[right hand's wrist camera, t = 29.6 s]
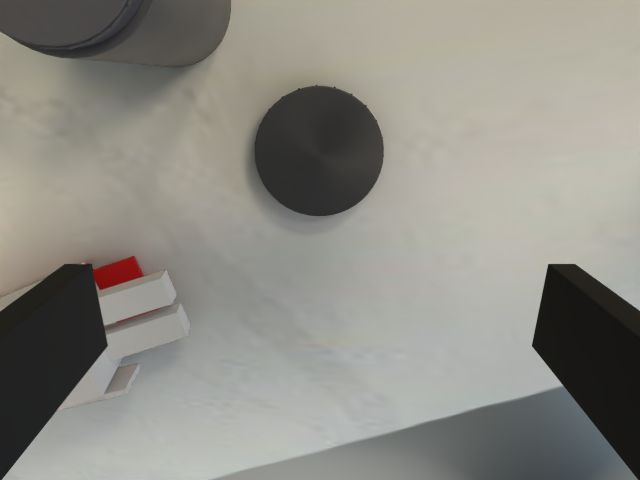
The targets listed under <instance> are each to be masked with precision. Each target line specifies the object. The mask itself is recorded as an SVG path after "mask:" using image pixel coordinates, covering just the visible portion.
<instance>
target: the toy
mask: <svg viewBox="0 0 640 480" xmlns="http://www.w3.org/2000/svg"><path fill="white" fill-rule="evenodd" d="M80 264H85V262H82V263H80ZM93 274H94V278H95V283H96V288H97V293H98V298H99V303H100V308H101V313H102V318H103V323H104V328H105V333H106V338H107V343H108V347H107V348H106V349H105V350H104V352H103V353H102V354H101V355H100V357H99V358H98V359H97V360H96V362H95V363H94V364H93V365H92V367H91V368H90V369H89V370H88V372H87V373H86V374H85V375H84V377H83V378H82V379H81V380H80V382H79V383H78V384H77V386H76V387H75V388H74V389H73V391H72V392H71V393H70V394H69V396H68V397H67V398H66V399H65V401H64V402H63V403H62V404H61V406H60V407H59V408H58V409H57V411H59V410H62V409H67V408H71V407H75V406H79V405H84V404H88V403H92V402H96V401H101V400H105V399H109V398H113V397H117V396H122V395H126V394H127V393H128V391H129V389H130V387H131V385H132V383H133V381H134V379H135V377H136V375H137V373H138V371H139V369H140V365H139V363H137V364H133V365H128V366H124V367H120V368H118V366H119V364H120V362H121V360H122V358H123V357H126V356H129V355H132V354H135V353H138V352H141V351H144V350H147V349H150V348H154V347H157V346H160V345H163V344H166V343H169V342H172V341H175V340H178V339H181V338H185V337H187V336H188V333H189V330H190V327H191V325H190V322H189V320H188V318H187V316H186V313H185V311H184V309H183V307H182V304H181V302H180V303H177V304H174V305H171V306H168V307H165V308H162V309H160V308H161V307H164V306H167V305H170V304H173V302H174V299H175V297H176V295H177V293H176V291H175V289H174V287H173V284H172V282H171V280H170V278H169V275H168V273H167V271H166V270H163V271H160V272H156V273H153V274H150V275H147V276H144V275H143V273H142V271H141V269H140V267H139V265H138V263H137V261H136V259H135V257H134V256H133V257H130V258H127V259H124V260H121V261H118V262H115V263H113V264H110V265H107V266H104V267H101V268H98V269H95V270H93ZM42 280H44V279H42ZM42 280H40V281H38V282H35V283H33V284H31V285H29V286H26V287H24V288H22V289H19V290H17V291H15V292H12V293H10V294H8V295H5V296H3V297H1V298H0V311H1V310H2V309H4V308H5V307H7V306H8V305H9V304H11V303H12V302H13V301H15V300H16V299H18V298H19V297H20V296H22V295H23V294H24V293H26V292H27V291H29V290H30V289H31V288H33V287H34V286H36V285H37V284H38V283H40V282H41V281H42Z"/></svg>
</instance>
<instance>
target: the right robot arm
mask: <svg viewBox="0 0 640 480" xmlns="http://www.w3.org/2000/svg"><path fill="white" fill-rule="evenodd" d="M107 347H108V343H107V338H106V333H105V328H104V323H103V318H102V313H101V308H100V303H99V298H98V293H97V288H96V283H95V278H94V274H93V269H92V264H64V265H63V266H62V267H60V268H59V269H58V270H56V271H55V272H53V273H52V274H51V275H49V276H48V277H47V278H45V279H44V280H42V281H41V282H40V283H38V284H37V285H36V286H34V287H33V288H31V289H30V290H29V291H27V292H26V293H24V294H23V295H22V296H20V297H19V298H18V299H16V300H15V301H13V302H12V303H11V304H9V305H8V306H7V307H5V308H4V309H2V310H1V311H0V480H2V479H3V477H4V476H5V475H6V474H7V472H8V471H9V470H10V469H11V467H12V466H13V465H14V464H15V462H16V461H17V460H18V459H19V457H20V456H21V455H22V453H23V452H24V451H25V450H26V448H27V447H28V446H29V445H30V443H31V442H32V441H33V440H34V438H35V437H36V436H37V435H38V433H39V432H40V431H41V430H42V428H43V427H44V426H45V425H46V423H47V422H48V421H49V420H50V418H51V417H52V416H53V414H54V413H55V412H56V411H57V409H58V408H59V407H60V406H61V404H62V403H63V402H64V401H65V399H66V398H67V397H68V396H69V394H70V393H71V392H72V391H73V389H74V388H75V387H76V386H77V384H78V383H79V382H80V380H81V379H82V378H83V377H84V375H85V374H86V373H87V372H88V370H89V369H90V368H91V367H92V365H93V364H94V363H95V362H96V360H97V359H98V358H99V357H100V355H101V354H102V353H103V352H104V350H105V349H106V348H107ZM532 347H533V348H534V349H535V350H536V352H537V353H538V354H539V355H540V357H541V358H542V359H543V360H544V362H545V363H546V364H547V365H548V367H549V368H550V369H551V370H552V372H553V373H554V374H555V375H556V377H557V378H558V379H559V380H560V382H561V383H562V384H563V386H564V387H565V388H566V389H567V391H568V392H569V393H570V394H571V396H572V397H573V398H574V399H575V401H576V402H577V403H578V404H579V406H580V407H581V408H582V409H583V411H584V412H585V413H586V414H587V416H588V417H589V418H590V419H591V421H592V422H593V423H594V424H595V426H596V427H597V428H598V430H599V431H600V432H601V433H602V435H603V436H604V437H605V438H606V440H607V441H608V442H609V443H610V445H611V446H612V447H613V448H614V450H615V451H616V452H617V453H618V455H619V456H620V457H621V459H622V460H623V461H624V462H625V464H626V465H627V466H628V467H629V469H630V470H631V471H632V472H633V474H634V475H635V476H636V477H637V479H638V480H640V311H639V310H638V309H636V308H635V307H633V306H632V305H631V304H629V303H628V302H627V301H625V300H624V299H622V298H621V297H620V296H618V295H617V294H616V293H614V292H613V291H611V290H610V289H609V288H607V287H606V286H604V285H603V284H602V283H600V282H599V281H598V280H596V279H595V278H593V277H592V276H591V275H589V274H588V273H587V272H585V271H584V270H582V269H581V268H580V267H578V266H577V265H576V264H548V269H547V273H546V278H545V283H544V288H543V293H542V298H541V303H540V308H539V313H538V318H537V323H536V328H535V333H534V338H533V343H532Z"/></svg>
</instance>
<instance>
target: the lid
mask: <svg viewBox="0 0 640 480" xmlns="http://www.w3.org/2000/svg"><path fill="white" fill-rule="evenodd" d="M352 95H353V94H349V93H347V92H345V91H342V90H340V89H336V87H334V88H332V87H326V86H317V85H316V86H312V87H306V88H302V89H300V88H299V89H298V90H296V91H294V92H292V93H290V94H288V95H286V96H285V97H284V96H283V97H282V99H280V100H279V101H278V102H277V103H276V104H275V105H273V107H272V108H270V109H269V111H268V113H267V114H266V116H265V117H264V119H263V121H262V123H261V124H260V127H259V130H258V133H257V137H256V142H255V161H256V165H257V169H258V172H259V175H260V178H261V180H262V182H263V183H264V185H265V187H266V188H267V190H268V191H269V192H270V193H271V194H272V196H273V197H274V198H275V199H277V200H278V201H279V202H280V203H281V204H283V205H284V206H286V207H287V208H289V209H291V210H293V211H296V212H299V213H302V214H306V215H312V216H327V215H333V214H337V213H340V212H343V211H345V210H347V209H349V208H351V207H353V206H354V205H356V204H357V203H358V202H360V201H361V200H362V199H363V198H364V197H365V196H366V195H367V194H368V193H369V192H370V190H371V189H372V188H373V186H374V184H375V183H376V181H377V179H378V176H379V174H380V171H381V167H382V163H383V156H384V155H383V153H384V147H383V137H382V135H381V131H380V129H379V126H378V124H377V120H376V119H375V118H374V116H373V115H372V113H371V112H370V111H369V109H368V108H367V106H366V105H364V104H363V103H362V102H361V101H359V100H358V99H357V98H355V97H354V96H352Z"/></svg>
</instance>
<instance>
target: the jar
mask: <svg viewBox="0 0 640 480" xmlns="http://www.w3.org/2000/svg"><path fill="white" fill-rule="evenodd" d="M230 12H231V0H0V32H2V33H4V34H6V35H7V36H9V37H10V38H12V39H14V40H15V41H17V42H18V43H20V44H22V45H24V46H26V47H28V48H30V49H32V50H35V51H38V52H41V53H43V54H46V55H51V56H56V57H61V58H73V59H85V60H97V61H109V62H121V63H133V64H145V65H157V66H169V67H183V66H188V65H192V64H195V63H197V62H199V61H201V60H203V59H205V58H206V57H207V56H209V55H210V54H211V53H212V52H213V51H214V50H215V49H216V48H217V46H218V45H219V44H220V42H221V41H222V39H223V37H224V35H225V32H226V30H227V27H228V23H229V19H230Z"/></svg>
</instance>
